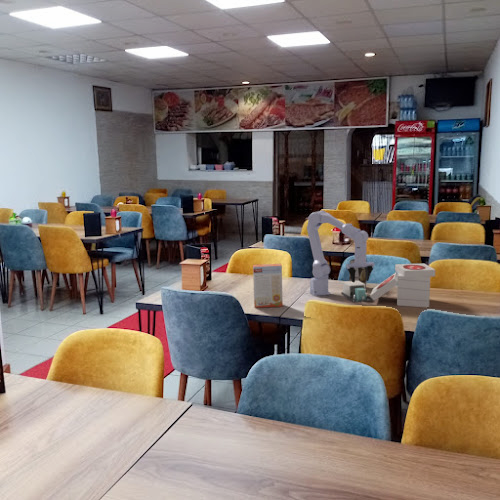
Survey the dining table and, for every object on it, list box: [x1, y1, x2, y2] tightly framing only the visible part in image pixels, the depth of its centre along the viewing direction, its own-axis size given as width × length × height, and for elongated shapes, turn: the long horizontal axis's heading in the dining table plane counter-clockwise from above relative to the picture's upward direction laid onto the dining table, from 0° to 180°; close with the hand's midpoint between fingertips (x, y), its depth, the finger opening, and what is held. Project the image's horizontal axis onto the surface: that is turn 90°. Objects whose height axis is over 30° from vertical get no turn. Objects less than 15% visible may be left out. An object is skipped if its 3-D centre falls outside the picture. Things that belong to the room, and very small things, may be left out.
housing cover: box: [342, 280, 366, 297], centre depth 273 cm, size 9×8×6 cm
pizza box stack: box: [369, 263, 436, 308], centre depth 258 cm, size 19×30×18 cm, turn 71°
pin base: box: [340, 291, 374, 303], centre depth 270 cm, size 10×17×2 cm, turn 12°
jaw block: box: [355, 288, 367, 300], centre depth 265 cm, size 4×4×5 cm
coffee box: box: [348, 258, 368, 288], centre depth 286 cm, size 9×6×16 cm
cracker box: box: [252, 263, 284, 309], centre depth 256 cm, size 14×6×21 cm, turn 92°
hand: (360, 281), depth 265 cm, fingers open, 7 cm apart
